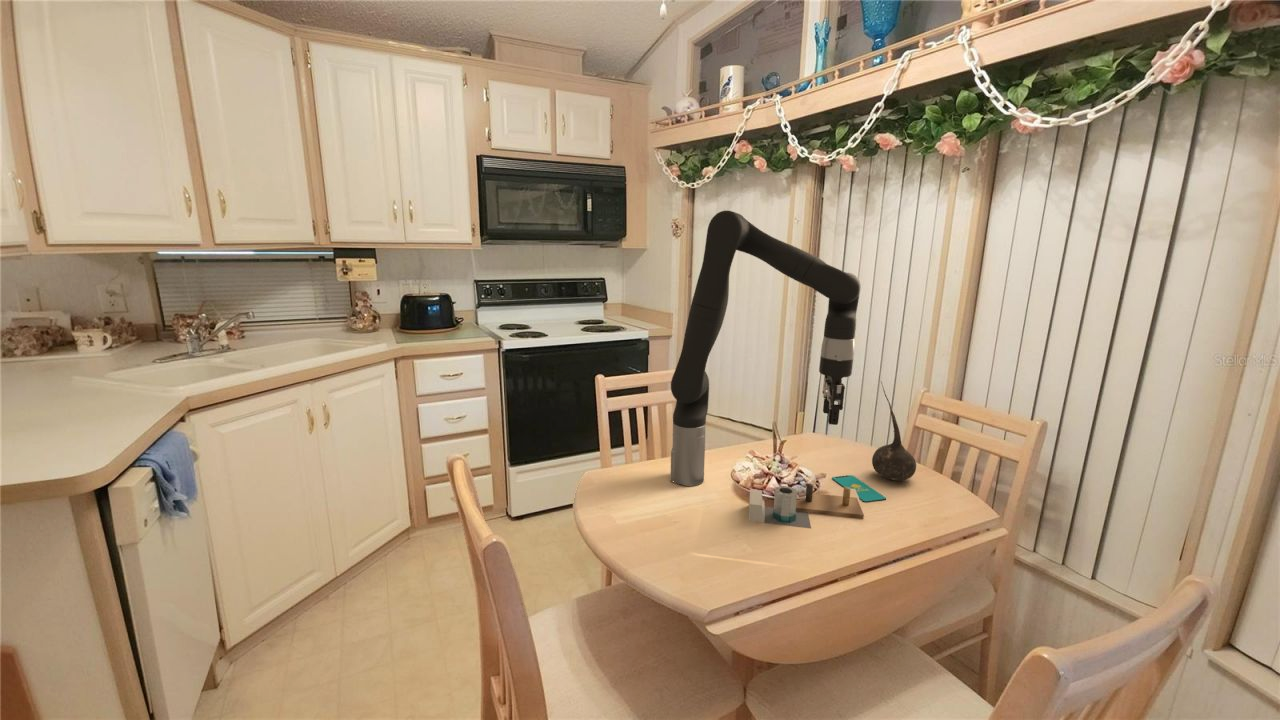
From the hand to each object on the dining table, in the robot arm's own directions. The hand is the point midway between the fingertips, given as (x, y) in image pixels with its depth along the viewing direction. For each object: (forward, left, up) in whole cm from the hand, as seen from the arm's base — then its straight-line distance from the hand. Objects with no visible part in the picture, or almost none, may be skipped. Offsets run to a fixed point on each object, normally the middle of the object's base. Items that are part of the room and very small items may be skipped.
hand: (830, 418), depth 127 cm
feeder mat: (-12, -10, -23) cm, 28 cm away
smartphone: (+11, +12, -24) cm, 29 cm away
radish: (+21, +21, -24) cm, 38 cm away
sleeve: (-10, -10, -23) cm, 27 cm away
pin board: (+1, -2, -24) cm, 24 cm away
